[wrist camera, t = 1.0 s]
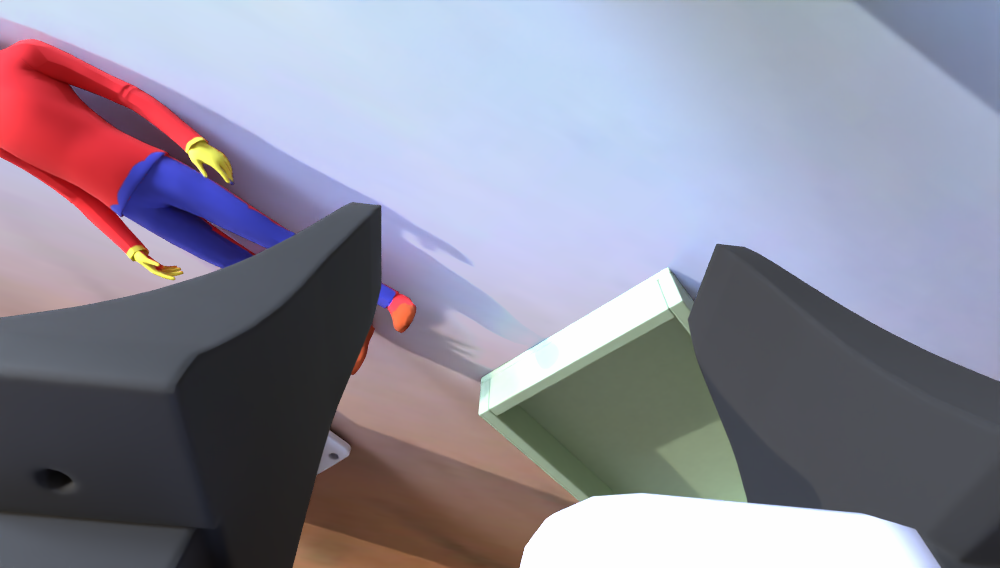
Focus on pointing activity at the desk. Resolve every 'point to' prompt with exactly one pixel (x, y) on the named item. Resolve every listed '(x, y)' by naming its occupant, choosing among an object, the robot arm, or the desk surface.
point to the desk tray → (618, 402)
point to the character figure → (131, 167)
